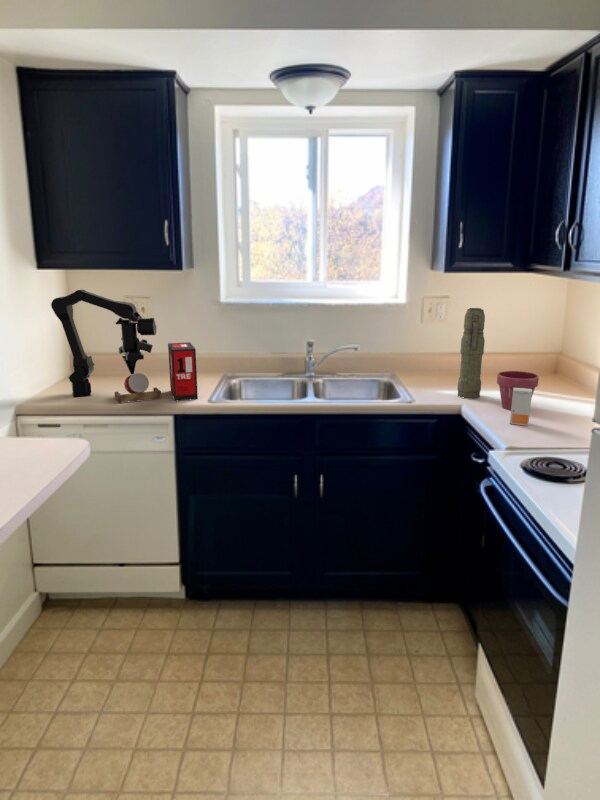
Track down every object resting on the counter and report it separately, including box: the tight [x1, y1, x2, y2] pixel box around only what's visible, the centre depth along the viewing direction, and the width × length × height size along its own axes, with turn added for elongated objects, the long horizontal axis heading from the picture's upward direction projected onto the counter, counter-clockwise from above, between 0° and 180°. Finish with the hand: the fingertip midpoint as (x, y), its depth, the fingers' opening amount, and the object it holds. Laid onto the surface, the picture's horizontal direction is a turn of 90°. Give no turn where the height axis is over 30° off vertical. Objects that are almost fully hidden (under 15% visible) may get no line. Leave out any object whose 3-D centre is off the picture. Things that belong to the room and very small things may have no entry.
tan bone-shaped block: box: [114, 387, 162, 404], centre depth 227 cm, size 16×7×3 cm, turn 117°
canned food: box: [123, 372, 150, 394], centre depth 229 cm, size 8×8×11 cm
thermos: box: [457, 307, 486, 399], centre depth 228 cm, size 9×12×35 cm
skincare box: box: [509, 388, 533, 427], centre depth 195 cm, size 6×4×12 cm
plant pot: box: [496, 370, 539, 411], centre depth 214 cm, size 14×14×13 cm
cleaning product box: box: [167, 342, 199, 402], centre depth 231 cm, size 16×9×20 cm, turn 18°
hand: (132, 374), depth 232 cm, fingers closed
